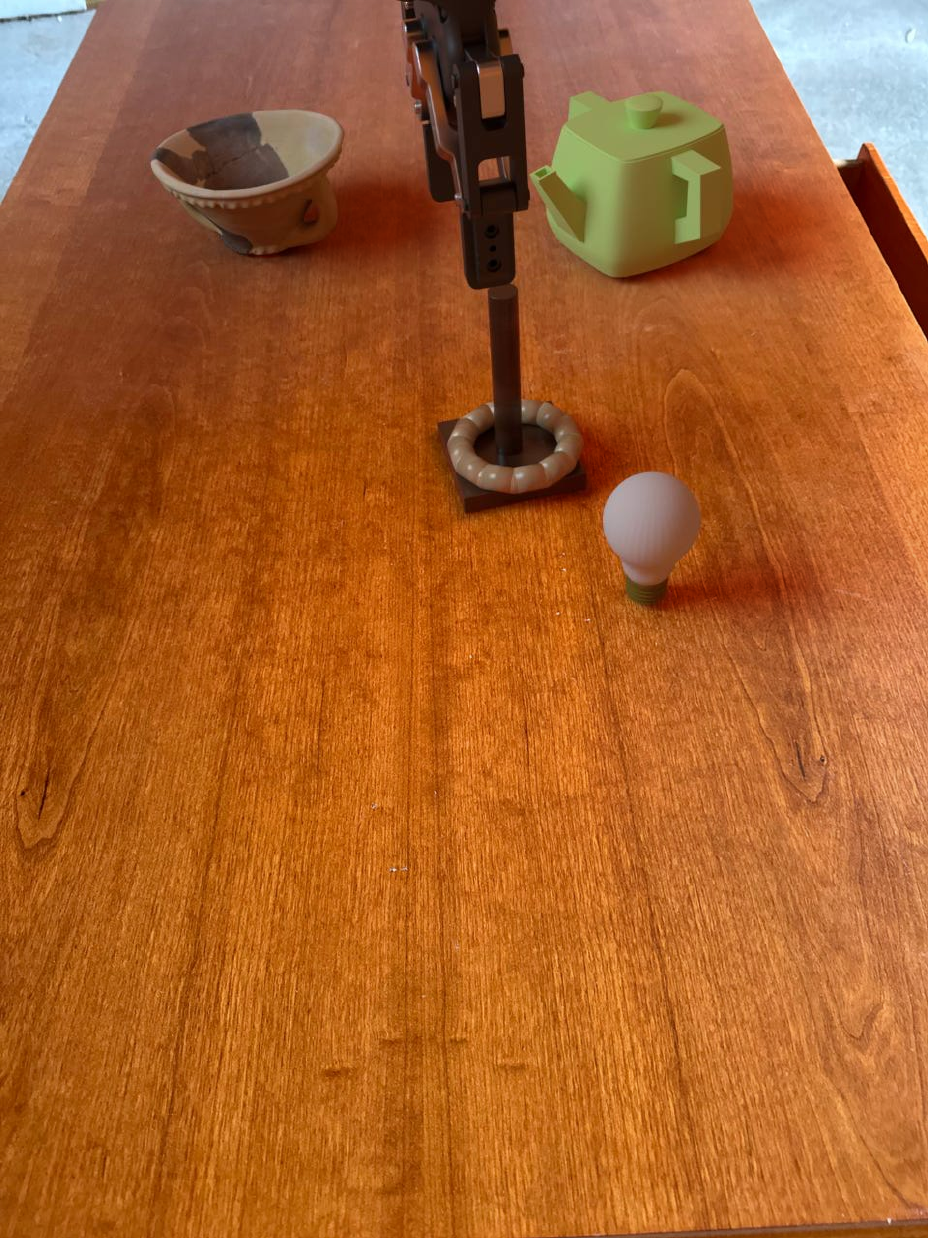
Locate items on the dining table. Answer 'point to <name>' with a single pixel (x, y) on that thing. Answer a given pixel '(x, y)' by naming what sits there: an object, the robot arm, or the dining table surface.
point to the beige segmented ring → (521, 476)
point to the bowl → (255, 177)
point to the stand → (507, 416)
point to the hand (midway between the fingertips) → (470, 237)
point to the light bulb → (650, 530)
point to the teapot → (637, 182)
